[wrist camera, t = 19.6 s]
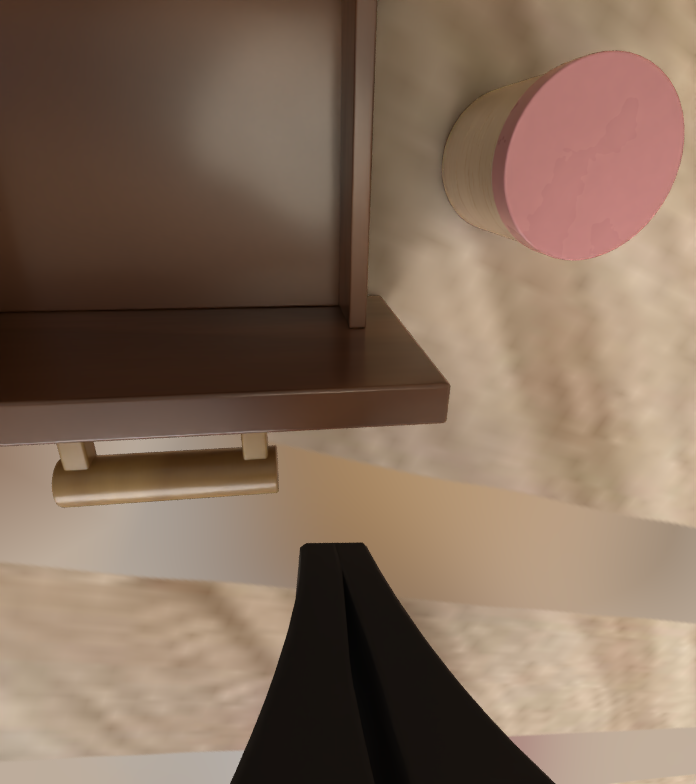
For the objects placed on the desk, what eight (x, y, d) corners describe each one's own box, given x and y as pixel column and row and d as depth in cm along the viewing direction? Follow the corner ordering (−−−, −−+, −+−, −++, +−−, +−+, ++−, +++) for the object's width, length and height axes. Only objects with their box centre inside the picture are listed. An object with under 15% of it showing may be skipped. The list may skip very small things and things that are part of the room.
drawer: (375, 410, 20) (432, 550, 13) (2, 428, 18) (-173, 603, 11) (402, -145, 13) (560, -523, 6) (-207, -209, 11) (-1080, -878, 4)
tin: (480, 260, 18) (553, 295, 13) (412, 147, 16) (469, 142, 11) (590, 177, 17) (708, 183, 12) (532, 48, 15) (647, -2, 10)
